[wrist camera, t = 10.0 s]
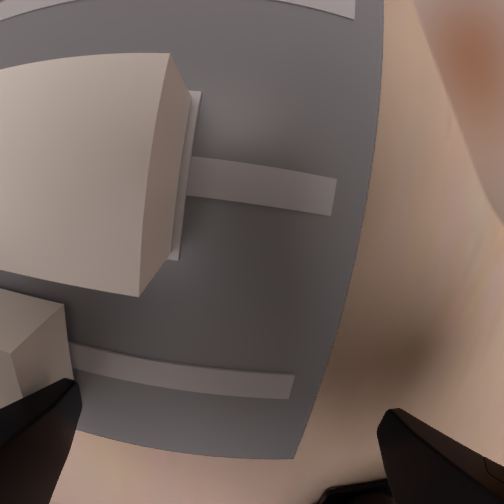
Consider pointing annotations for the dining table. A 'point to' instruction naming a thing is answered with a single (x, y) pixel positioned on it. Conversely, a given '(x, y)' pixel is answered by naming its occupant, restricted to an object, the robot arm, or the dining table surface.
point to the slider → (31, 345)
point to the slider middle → (91, 168)
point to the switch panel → (226, 217)
